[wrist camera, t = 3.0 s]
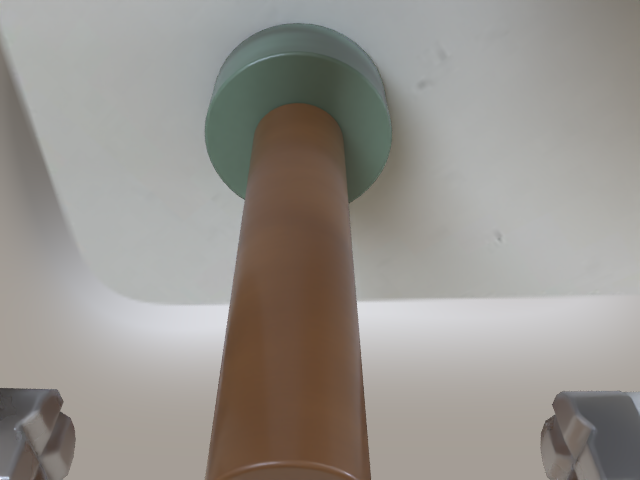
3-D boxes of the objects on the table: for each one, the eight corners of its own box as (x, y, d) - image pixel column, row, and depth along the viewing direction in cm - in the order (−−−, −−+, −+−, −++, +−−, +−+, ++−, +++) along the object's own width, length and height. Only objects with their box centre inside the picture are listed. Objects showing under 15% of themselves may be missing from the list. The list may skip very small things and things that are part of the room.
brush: (222, 178, 19) (141, 584, 10) (204, 22, 16) (60, 405, 7) (379, 178, 19) (441, 581, 10) (391, 22, 16) (499, 402, 7)
